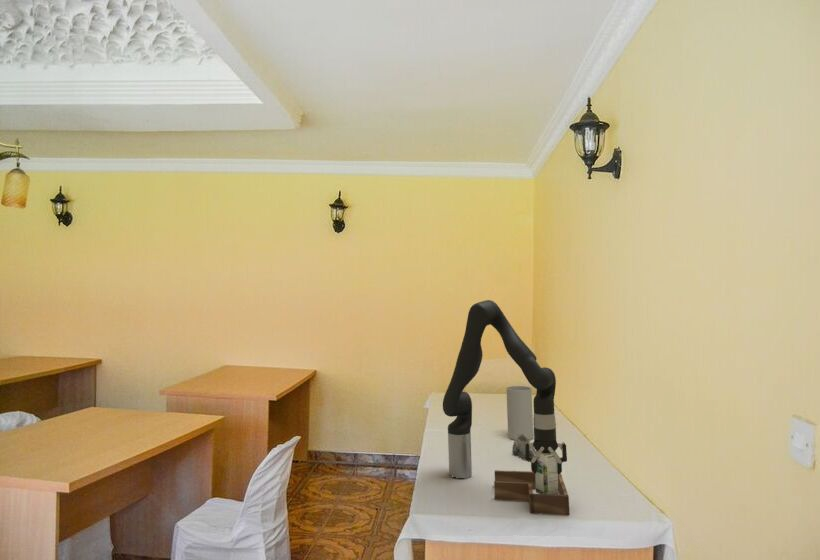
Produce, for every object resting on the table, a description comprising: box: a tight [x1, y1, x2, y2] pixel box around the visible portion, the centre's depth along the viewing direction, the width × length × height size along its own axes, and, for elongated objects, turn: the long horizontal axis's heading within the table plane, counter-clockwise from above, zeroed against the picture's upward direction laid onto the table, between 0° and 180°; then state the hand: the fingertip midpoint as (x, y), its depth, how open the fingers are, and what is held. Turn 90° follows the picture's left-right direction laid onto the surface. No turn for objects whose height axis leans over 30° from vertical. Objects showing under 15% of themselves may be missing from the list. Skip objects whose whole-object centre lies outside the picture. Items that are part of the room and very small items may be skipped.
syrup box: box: [535, 450, 559, 495], centre depth 174 cm, size 6×6×14 cm
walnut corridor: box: [493, 469, 570, 516], centre depth 176 cm, size 22×24×6 cm
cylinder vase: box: [505, 385, 534, 441], centre depth 253 cm, size 12×12×25 cm
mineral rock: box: [511, 434, 536, 459], centre depth 222 cm, size 13×11×10 cm
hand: (546, 473), depth 174 cm, fingers closed on syrup box, 7 cm apart
